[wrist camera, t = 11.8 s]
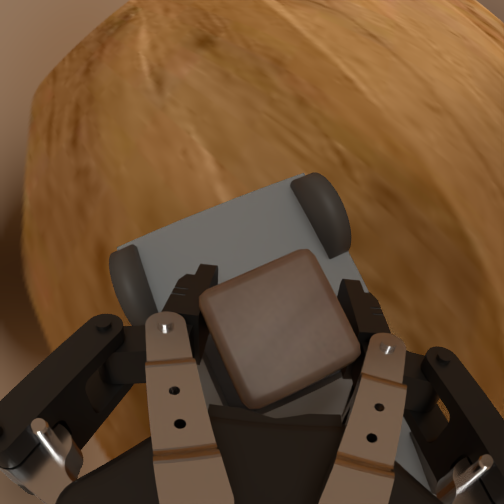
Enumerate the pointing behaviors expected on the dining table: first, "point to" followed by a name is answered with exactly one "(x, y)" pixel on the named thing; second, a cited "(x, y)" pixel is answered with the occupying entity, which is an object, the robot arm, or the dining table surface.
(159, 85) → the dining table surface
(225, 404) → the chassis
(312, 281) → the wooden block
